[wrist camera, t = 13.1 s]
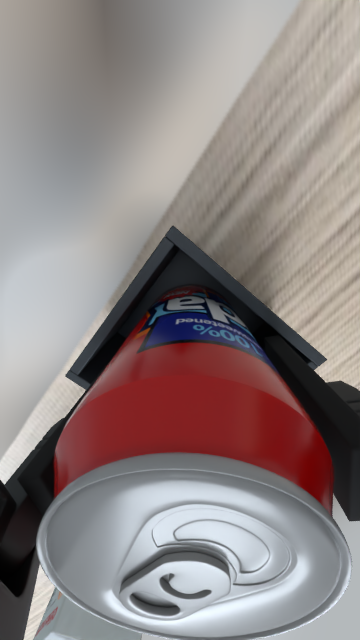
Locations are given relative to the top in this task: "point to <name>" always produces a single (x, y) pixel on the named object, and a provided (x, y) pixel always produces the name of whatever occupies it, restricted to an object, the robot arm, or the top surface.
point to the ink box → (77, 623)
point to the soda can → (194, 486)
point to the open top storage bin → (168, 272)
